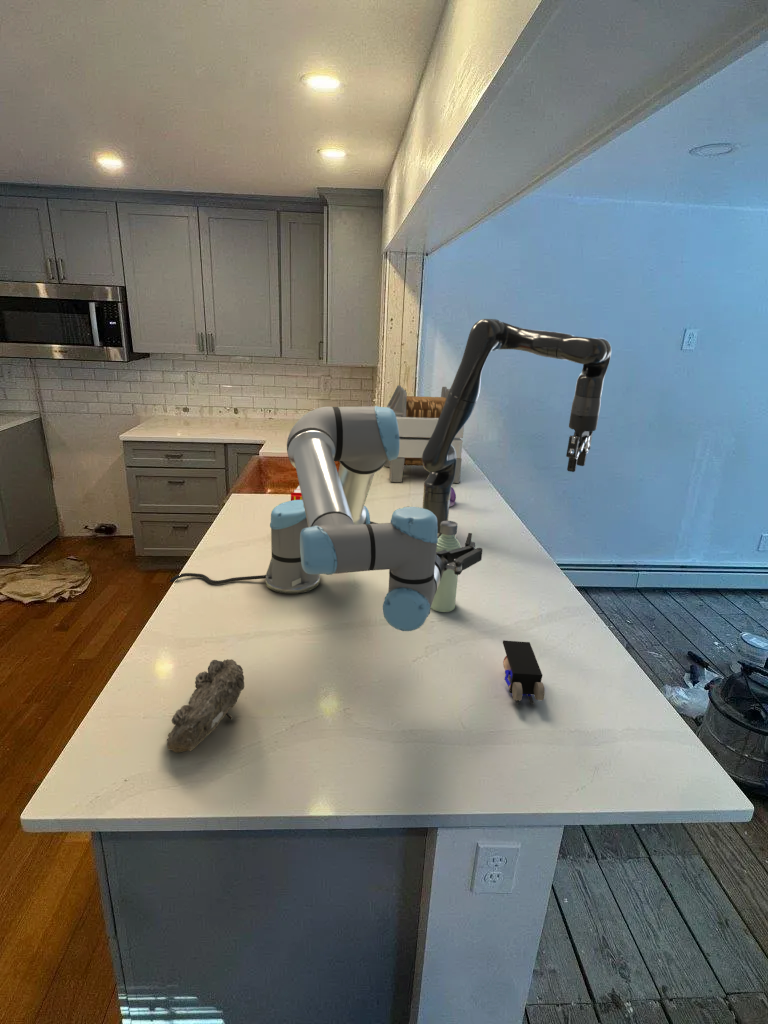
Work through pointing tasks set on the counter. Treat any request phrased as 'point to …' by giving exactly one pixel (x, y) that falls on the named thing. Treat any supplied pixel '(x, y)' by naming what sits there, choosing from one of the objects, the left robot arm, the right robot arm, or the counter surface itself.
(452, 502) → the figurine
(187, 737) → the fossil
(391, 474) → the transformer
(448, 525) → the cap
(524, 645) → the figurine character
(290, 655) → the counter surface
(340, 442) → the left robot arm
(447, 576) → the bottle
